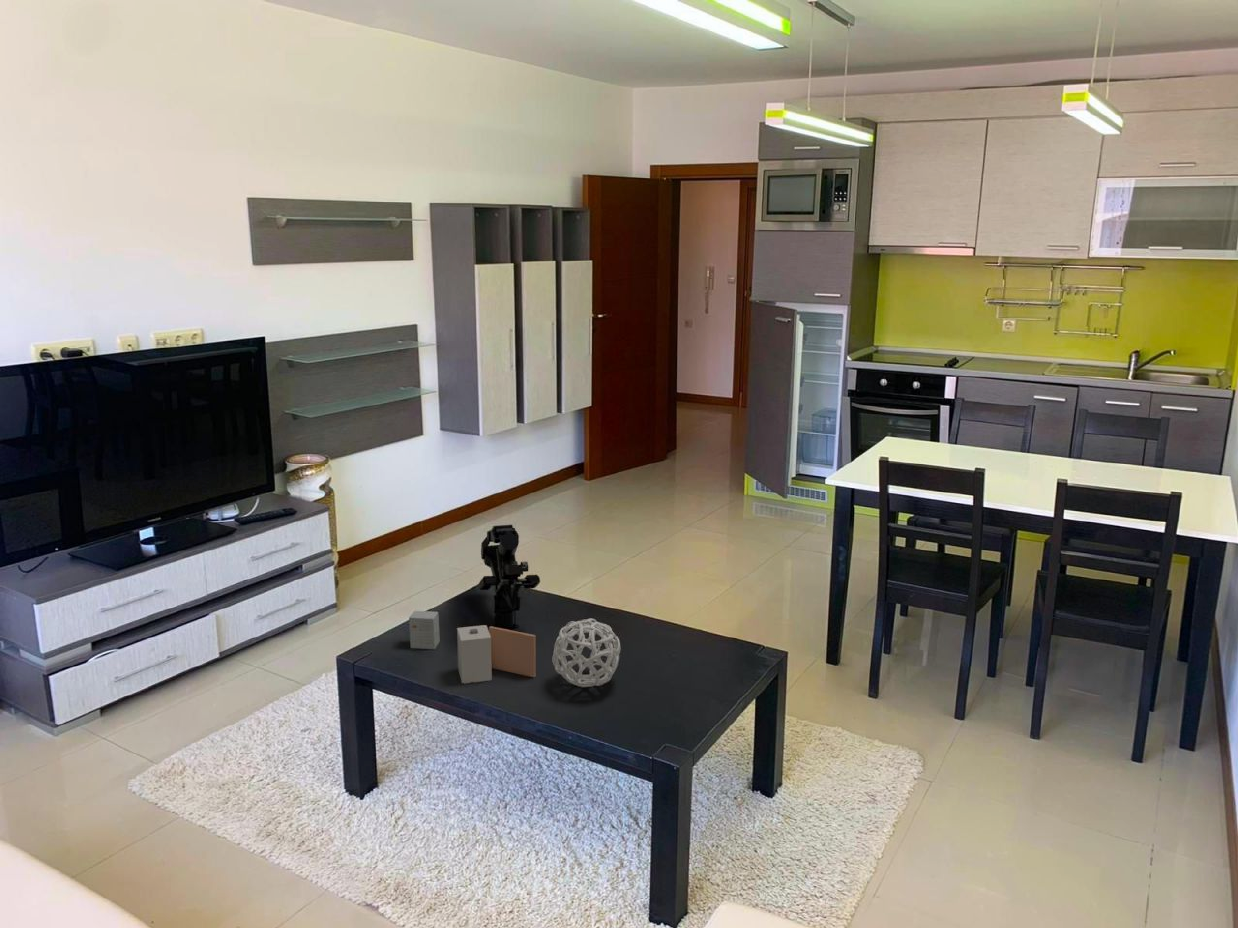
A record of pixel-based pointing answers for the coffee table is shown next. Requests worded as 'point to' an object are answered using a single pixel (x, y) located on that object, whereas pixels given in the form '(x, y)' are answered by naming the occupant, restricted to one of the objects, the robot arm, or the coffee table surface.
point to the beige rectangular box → (474, 654)
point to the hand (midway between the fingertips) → (512, 607)
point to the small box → (424, 629)
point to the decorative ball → (588, 662)
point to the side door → (513, 651)
